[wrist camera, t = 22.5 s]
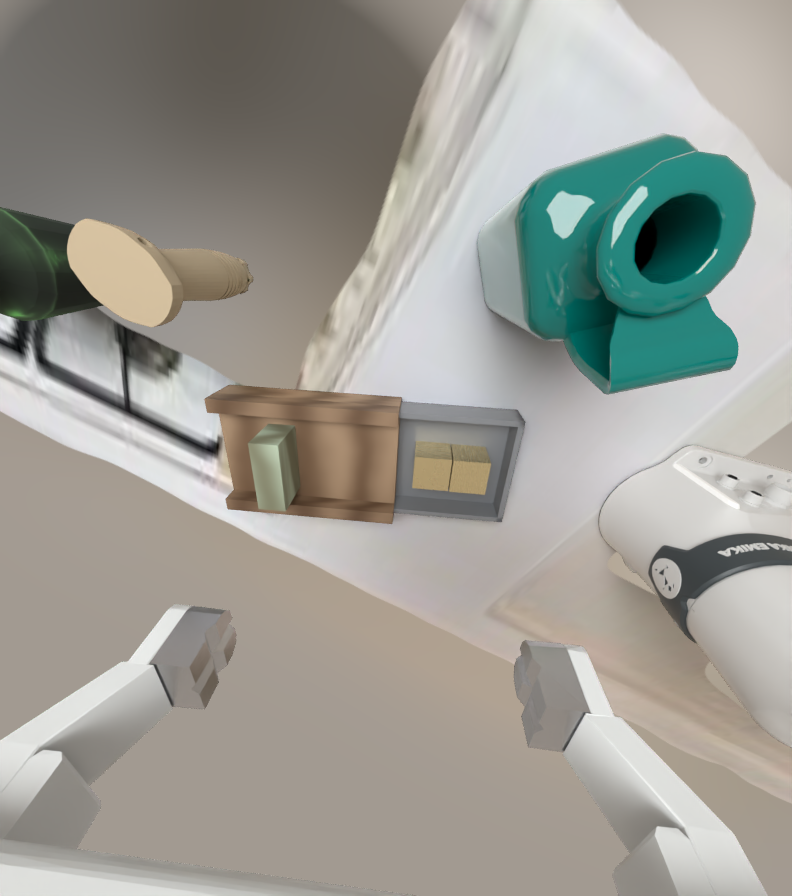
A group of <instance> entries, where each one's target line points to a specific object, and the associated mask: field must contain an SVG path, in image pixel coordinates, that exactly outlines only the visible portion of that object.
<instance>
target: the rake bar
mask: <svg viewBox="0 0 792 896" xmlns="http://www.w3.org/2000/svg"><path fill="white" fill-rule="evenodd" d="M248 447H249V453H250V459H251V465H252V471H253V478H254V484H255V490H256V496H257V502H258V508H259V509H264V510H275V511H286V510H287V508H288V507H289V505H290V503H291V502H292V500H293V498H294V496H295V495H296V493H297V491H298V490H299V488H300V475H299V464H298V453H297V442H296V431H295V425H282V424H267V425H266V426H265V427H264V428H263V429H262V430H261V431H260V432H259V433H258V434H257V435H256V436H255V437H254V438H253V439H252V440H251V441H250V442H249V443H248Z"/></svg>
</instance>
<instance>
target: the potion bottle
mask: <svg viewBox="0 0 792 896" xmlns="http://www.w3.org/2000/svg"><path fill="white" fill-rule="evenodd" d="M74 226H75V225H73V224H69V223H64V222H60V221H56V220H52V219H47V218H44V217H39V216H35V215H31V214H27V213H23V212H19V211H14V210H10V209H6V208H2V207H0V313H1V314H3V315H6V316H10V317H13V318H16V319H19V320H22V321H29V320H40V319H45V318H49V317H54V316H58V315H63V314H67V313H72V312H76V311H81V310H85V309H89V308H94V307H98V306H103V304H102V303H100V302H99V301H98V300H97V299H95V298H94V297H93V296H92V295H91V294H90V292H89V291H88V290H87V289H86V288H85V286H84V285H83V284H82V282H81V281H80V280H79V278H78V277H77V276H76V274H75V273H74V271H73V270H72V269H71V267H70V264H69V261H68V255H67V244H68V239H69V236H70V233H71V231H72V229H73V228H74Z"/></svg>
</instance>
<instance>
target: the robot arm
mask: <svg viewBox="0 0 792 896" xmlns="http://www.w3.org/2000/svg"><path fill="white" fill-rule="evenodd" d="M701 458H702V459H701ZM700 459H701V460H700ZM599 527H600V532H601V534H602V536H603V538H604V540H605V541H606V542H607V543H608V544H609V545H610V546H611V547H612V548H613V549H614V550H616V551H617V552H618V553H619V554H620V555H621V556H622V558H623V560H624V563H625V564H626V566H627V567H628V568H629V569H630V570H631V571H632V572H634V573H637V574H638V575H639V576H640V577H641V578H642V579H643V580H644V582H646V584H647V585H648V586H649V587H650V588H651V589H652V591H653V592H654V593H655V594H656V595H657V596H658V597H659V598H660V600H661V602H662V604H663V606H664V607H665V608H666V610H667V611H668V613H669V614H670V615H671V617H672V618H673V619H674V622H675V623H676V625H677V626H678V627H679V628H680V629H681V630H682V631H683V632H684V634H685V635H686V636H687V637H688V638H689V639H690V640H692V641H693V642H695V643H697V644H698V645H699V647H700V648H701V649H702V651H703V652H704V653H705V655H706V656H707V657H708V659H709V660H710V662H711V663H712V664H713V666H714V667H715V668H716V670H717V671H718V672H719V674H720V675H721V677H722V678H723V679H724V681H725V682H726V683H727V685H728V686H729V687H730V689H731V690H732V691H733V692H734V694H735V695H736V697H737V698H738V700H739V701H740V702H741V704H742V705H743V706H744V708H745V709H746V710H747V712H748V713H749V715H750V716H751V717H752V719H753V720H754V721H755V722H756V723H757V724H758V725H759V726H760V727H761V728H762V729H763V730H765V731H766V732H767V733H768V734H770V735H771V736H772V737H774V738H775V739H777V740H778V741H780V742H781V743H783V744H785V745H787V746H789V747H791V748H792V471H790V470H786V469H782V468H778V467H774V466H771V465H767V464H763V463H760V462H756V461H752V460H748V459H745V458H741V457H737V456H733V455H730V454H726V453H722V452H719V451H715V450H711V449H707V448H704V447H700V446H696V445H690V446H687V447H684V448H682V449H681V450H679V451H678V452H676V453H675V454H673V455H672V456H671V457H670V458H668V459H667V460H666V461H664V462H663V463H661V464H658V465H656V466H653V467H651V468H648V469H646V470H643V471H641V472H639V473H637V474H635V475H633V476H632V477H630V478H629V479H627V480H626V481H624V482H623V483H622V484H620V485H619V486H618V487H617V488H616V489H615V490H614V491H613V492H612V493H611V494H610V496H609V497H608V498H607V500H606V501H605V503H604V505H603V507H602V510H601V513H600V517H599ZM231 620H232V615H231V612H230V610H222V609H214V608H205V607H196V606H190V605H189V606H188V605H179V604H175V605H173V606H172V607H171V608H169V609H168V610H167V612H166V613H165V614H164V615H163V617H162V618H161V619H160V621H159V622H158V624H157V625H156V626H155V627H154V628H153V630H152V631H151V632H150V634H149V635H148V636H147V637H146V639H145V640H144V641H143V643H142V644H141V645H140V647H139V648H138V649H137V650H136V652H135V653H134V654H133V656H132V657H131V658H130V660H129V661H128V662H123V661H122V662H121V663H119V664H118V665H116V666H114V667H113V668H111V669H110V670H109V671H107V672H105V673H104V674H102V675H101V676H99V677H97V678H96V679H94V680H93V681H92V682H90V683H88V684H87V685H85V686H84V687H82V688H80V689H79V690H77V691H76V692H74V693H73V694H71V695H70V696H68V697H67V698H65V699H64V700H62V701H60V702H59V703H57V704H56V705H54V706H53V707H51V708H50V709H48V710H47V711H45V712H43V713H42V714H40V715H39V716H37V717H36V718H34V719H33V720H31V721H30V722H28V723H26V724H25V725H23V726H22V727H20V728H19V729H17V730H16V731H14V732H13V733H11V734H9V735H8V736H7V737H5V738H3V739H2V740H0V896H416V895H408V894H401V893H394V892H387V891H379V890H372V889H365V888H358V887H350V886H343V885H336V884H328V883H321V882H313V881H307V880H299V879H292V878H284V877H277V876H270V875H263V874H256V873H248V872H241V871H234V870H227V869H219V868H212V867H205V866H197V865H190V864H182V863H176V862H168V861H161V860H154V859H146V858H139V857H131V856H124V855H117V854H110V853H102V852H96V851H88V850H81V849H77V847H78V846H79V844H80V843H81V841H82V839H83V837H84V836H85V834H86V832H87V831H88V829H89V827H90V826H91V824H92V822H93V821H94V819H95V817H96V815H97V814H98V812H99V811H100V809H101V801H100V799H99V798H98V797H97V795H96V794H95V793H94V792H93V791H92V789H91V788H90V787H89V786H90V785H91V784H92V783H93V782H94V781H95V780H96V779H97V778H98V777H100V776H101V775H102V774H103V773H104V772H105V771H106V770H107V769H108V768H109V767H111V765H113V764H114V763H115V762H116V761H117V760H118V759H119V758H120V757H121V756H122V755H123V754H125V753H126V752H127V751H128V750H129V749H130V748H131V747H132V746H133V745H134V744H135V743H136V742H138V741H139V740H140V739H141V738H142V737H143V736H144V735H145V734H146V733H147V732H148V731H149V730H150V729H152V728H153V727H154V726H155V725H156V724H157V723H158V722H159V721H160V720H161V719H162V718H163V717H165V716H166V715H167V714H168V713H169V712H170V711H171V710H172V709H173V708H172V707H182V708H194V709H205V708H206V706H207V704H208V702H209V700H210V698H211V696H212V694H213V693H214V690H215V688H216V687H217V684H218V683H219V681H218V672H219V671H220V670H222V669H223V668H224V667H226V666H227V665H228V662H229V661H230V659H231V657H232V654H233V651H234V648H235V644H236V631H235V628H234V627H232V626H231V625H230V622H231ZM520 650H521V654H522V655H521V656H520V657H518V658H517V659H516V662H515V666H514V682H515V689H516V693H517V697H518V699H519V700H520V701H521V703H522V704H523V705H524V706H525V709H524V711H523V714H522V716H521V717H522V721H523V726H524V730H525V735H526V739H527V744H528V747H530V748H537V749H544V750H550V751H557V752H564V753H563V755H564V757H565V759H566V760H567V761H568V763H569V764H570V766H571V767H572V769H573V770H574V772H575V773H576V775H577V776H578V778H579V779H580V781H581V782H582V783H583V785H584V786H585V788H586V789H587V791H588V792H589V794H590V795H591V797H592V798H593V800H594V801H595V803H596V804H597V806H598V807H599V809H600V810H601V812H602V813H603V815H604V816H605V817H606V819H607V820H608V822H609V823H610V825H611V826H612V828H613V829H614V831H615V832H616V834H617V835H618V837H619V838H620V840H621V841H622V842H623V844H624V845H625V847H626V848H627V850H628V851H629V853H630V854H629V855H628V856H627V857H626V858H625V859H624V860H623V861H622V862H621V863H620V864H619V865H618V866H617V867H616V868H615V870H614V873H613V875H612V876H613V879H614V883H615V886H616V889H617V893H618V896H768V895H767V894H766V892H765V890H764V888H763V886H762V885H761V883H760V881H759V879H758V877H757V875H756V873H755V872H754V870H753V868H752V866H751V864H750V863H749V861H748V859H747V857H746V855H745V853H744V852H743V850H742V848H741V846H740V844H739V843H738V841H737V839H736V837H735V835H734V834H733V833H732V832H731V831H730V829H728V827H727V826H726V825H725V824H724V823H723V822H722V821H721V820H720V819H719V818H718V817H717V816H716V815H715V814H714V813H713V812H712V811H711V810H710V809H709V808H708V807H707V806H706V805H705V804H704V803H703V802H702V801H701V799H700V798H699V797H698V796H697V795H696V794H695V793H694V792H693V791H692V790H691V789H690V788H689V787H688V786H687V785H686V784H685V783H684V782H683V781H682V780H681V779H680V778H679V777H678V776H677V775H676V774H675V773H674V772H673V771H672V769H671V768H670V767H669V766H668V765H667V764H666V763H665V762H664V761H663V760H662V759H661V758H660V757H659V756H658V755H657V754H656V753H655V752H654V751H653V750H652V749H651V748H650V747H649V746H648V745H647V744H646V743H645V742H644V740H643V739H642V738H641V737H639V735H638V734H637V733H636V732H635V731H634V730H633V729H632V728H631V727H630V726H629V725H628V724H627V723H626V722H625V721H624V720H623V719H622V718H621V717H616V716H614V713H613V711H612V709H611V706H610V704H609V702H608V700H607V697H606V695H605V693H604V690H603V688H602V686H601V683H600V681H599V679H598V677H597V674H596V672H595V670H594V667H593V665H592V663H591V660H590V658H589V656H588V653H587V651H586V650H585V649H584V648H583V647H582V646H578V645H566V644H561V643H551V642H539V641H527V640H525V641H523V642H522V644H521V647H520Z"/></svg>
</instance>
